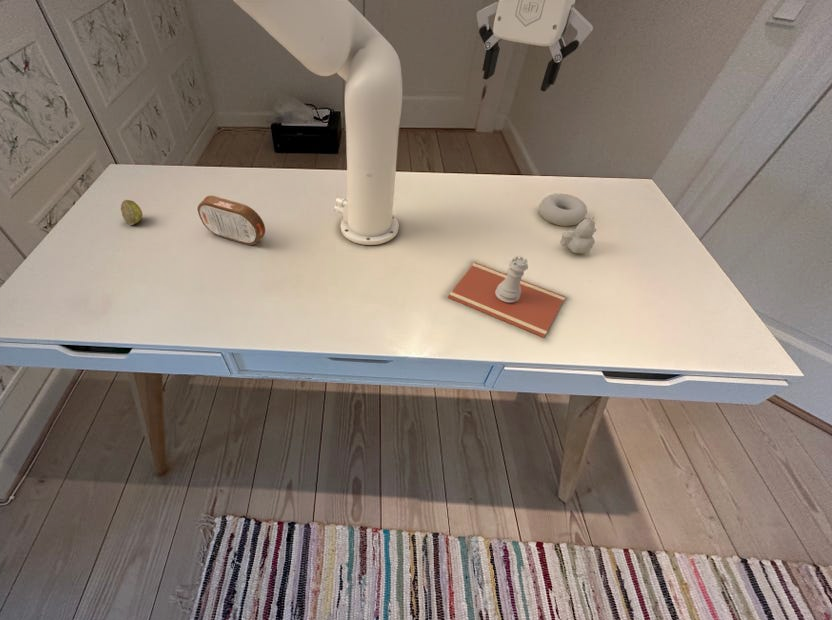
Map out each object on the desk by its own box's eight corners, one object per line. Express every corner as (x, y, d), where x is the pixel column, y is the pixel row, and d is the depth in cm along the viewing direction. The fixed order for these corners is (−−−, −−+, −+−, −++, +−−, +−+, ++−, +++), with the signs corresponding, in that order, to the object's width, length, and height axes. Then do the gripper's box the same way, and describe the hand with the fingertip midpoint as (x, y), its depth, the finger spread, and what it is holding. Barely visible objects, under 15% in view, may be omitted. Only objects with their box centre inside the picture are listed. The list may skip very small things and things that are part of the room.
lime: (142, 227, 93) (132, 207, 89) (120, 227, 93) (110, 206, 89) (149, 216, 95) (140, 195, 92) (128, 216, 96) (118, 195, 92)
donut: (588, 230, 91) (577, 204, 97) (595, 216, 89) (583, 191, 95) (540, 228, 92) (533, 202, 98) (546, 214, 89) (538, 189, 95)
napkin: (447, 297, 78) (448, 295, 78) (474, 263, 84) (474, 261, 84) (543, 338, 71) (544, 336, 71) (564, 298, 78) (565, 296, 77)
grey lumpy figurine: (592, 259, 85) (610, 224, 79) (558, 256, 85) (574, 222, 79) (586, 243, 88) (604, 208, 82) (554, 241, 89) (569, 206, 83)
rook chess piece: (491, 288, 79) (503, 253, 73) (514, 287, 79) (528, 251, 73) (498, 305, 76) (511, 269, 70) (522, 303, 76) (537, 268, 70)
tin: (269, 243, 89) (262, 206, 82) (260, 251, 87) (253, 214, 81) (210, 226, 93) (200, 190, 86) (202, 233, 91) (190, 197, 85)
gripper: (482, -66, 57) (457, 79, 70) (616, -56, 51) (561, 101, 64) (502, -72, 61) (476, 66, 74) (629, -64, 55) (576, 86, 68)
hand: (516, 82), depth 69 cm, fingers open, 9 cm apart
